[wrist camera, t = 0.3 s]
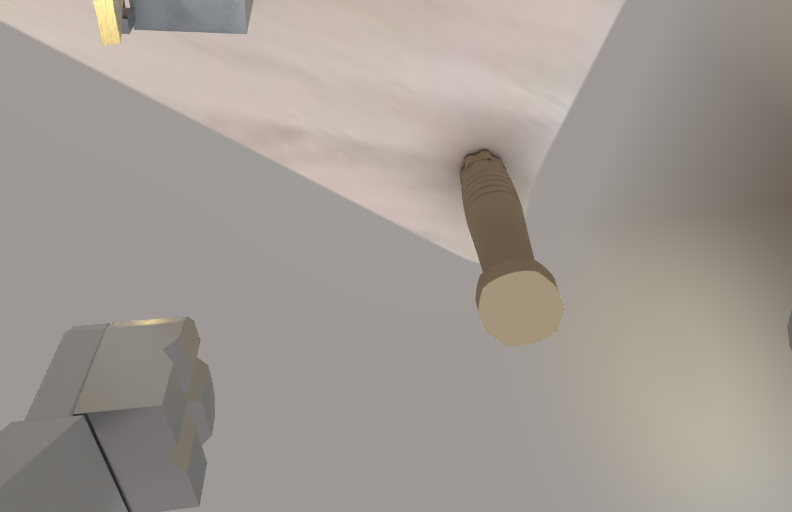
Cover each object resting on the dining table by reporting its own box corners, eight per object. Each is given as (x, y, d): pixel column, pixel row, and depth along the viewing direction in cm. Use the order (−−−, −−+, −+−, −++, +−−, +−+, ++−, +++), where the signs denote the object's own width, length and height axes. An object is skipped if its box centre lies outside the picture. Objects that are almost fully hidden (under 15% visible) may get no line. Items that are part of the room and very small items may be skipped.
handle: (462, 208, 57) (496, 353, 45) (436, 143, 52) (466, 286, 41) (522, 187, 56) (571, 331, 44) (500, 121, 52) (548, 261, 40)
